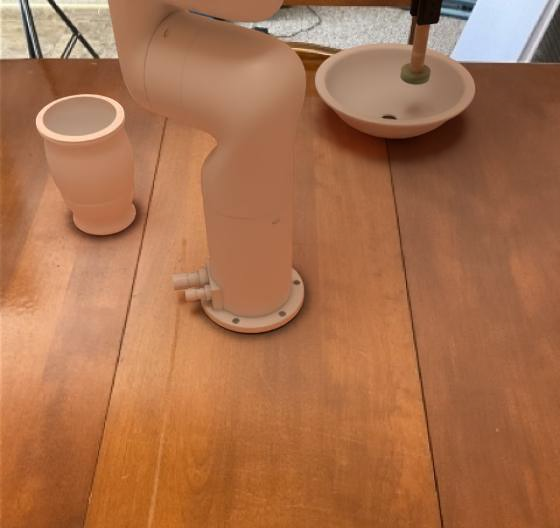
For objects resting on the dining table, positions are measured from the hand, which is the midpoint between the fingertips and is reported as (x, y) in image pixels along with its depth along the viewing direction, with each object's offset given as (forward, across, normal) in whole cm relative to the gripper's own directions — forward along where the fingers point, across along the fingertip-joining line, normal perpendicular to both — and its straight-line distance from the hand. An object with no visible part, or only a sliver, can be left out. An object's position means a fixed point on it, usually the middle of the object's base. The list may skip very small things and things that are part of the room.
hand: (423, 18), depth 96 cm
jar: (+15, +15, -48) cm, 53 cm away
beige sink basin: (+16, 0, -3) cm, 16 cm away
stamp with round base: (+9, 0, 0) cm, 9 cm away
